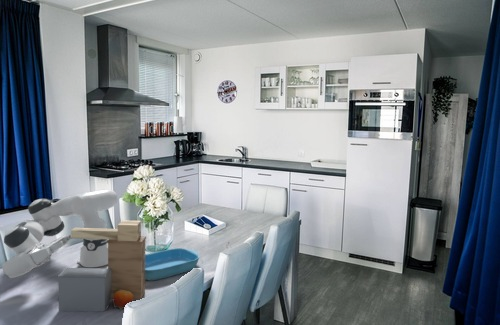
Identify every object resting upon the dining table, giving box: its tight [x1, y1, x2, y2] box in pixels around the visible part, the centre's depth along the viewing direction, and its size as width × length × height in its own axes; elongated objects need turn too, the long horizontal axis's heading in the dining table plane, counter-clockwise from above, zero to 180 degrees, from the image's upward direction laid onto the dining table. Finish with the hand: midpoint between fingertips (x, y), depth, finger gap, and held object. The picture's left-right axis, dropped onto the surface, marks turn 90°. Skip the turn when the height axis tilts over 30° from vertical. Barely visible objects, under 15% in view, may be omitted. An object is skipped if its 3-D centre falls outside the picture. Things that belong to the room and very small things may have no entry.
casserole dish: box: [145, 247, 200, 281], centre depth 188 cm, size 37×22×7 cm, turn 133°
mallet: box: [70, 219, 142, 241], centre depth 156 cm, size 7×28×7 cm, turn 93°
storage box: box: [57, 267, 112, 312], centre depth 148 cm, size 8×18×14 cm, turn 93°
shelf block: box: [107, 235, 147, 301], centre depth 158 cm, size 7×14×26 cm, turn 93°
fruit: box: [112, 290, 134, 311], centre depth 150 cm, size 8×8×8 cm
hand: (68, 239), depth 155 cm, fingers open, 8 cm apart
